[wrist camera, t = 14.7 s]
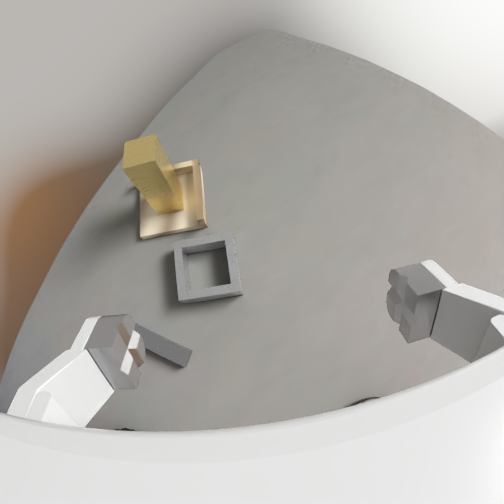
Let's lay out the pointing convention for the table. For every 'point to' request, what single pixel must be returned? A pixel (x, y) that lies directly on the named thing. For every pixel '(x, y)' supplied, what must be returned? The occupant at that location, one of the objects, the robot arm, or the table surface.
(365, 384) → the table surface
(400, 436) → the robot arm
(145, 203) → the rack plate
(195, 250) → the socket collar
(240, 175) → the table surface
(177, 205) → the yellow wooden block
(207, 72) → the table surface
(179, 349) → the gray rectangular bar
